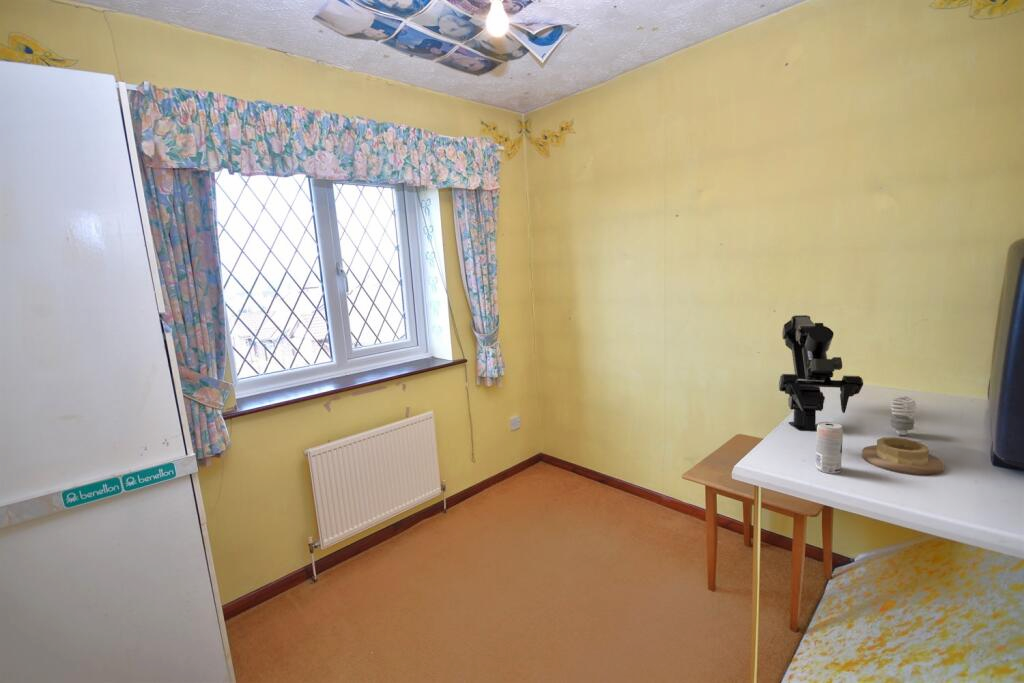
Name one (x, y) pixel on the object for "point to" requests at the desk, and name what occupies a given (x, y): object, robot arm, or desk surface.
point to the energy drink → (829, 447)
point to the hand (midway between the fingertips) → (823, 411)
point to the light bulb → (903, 421)
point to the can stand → (903, 457)
